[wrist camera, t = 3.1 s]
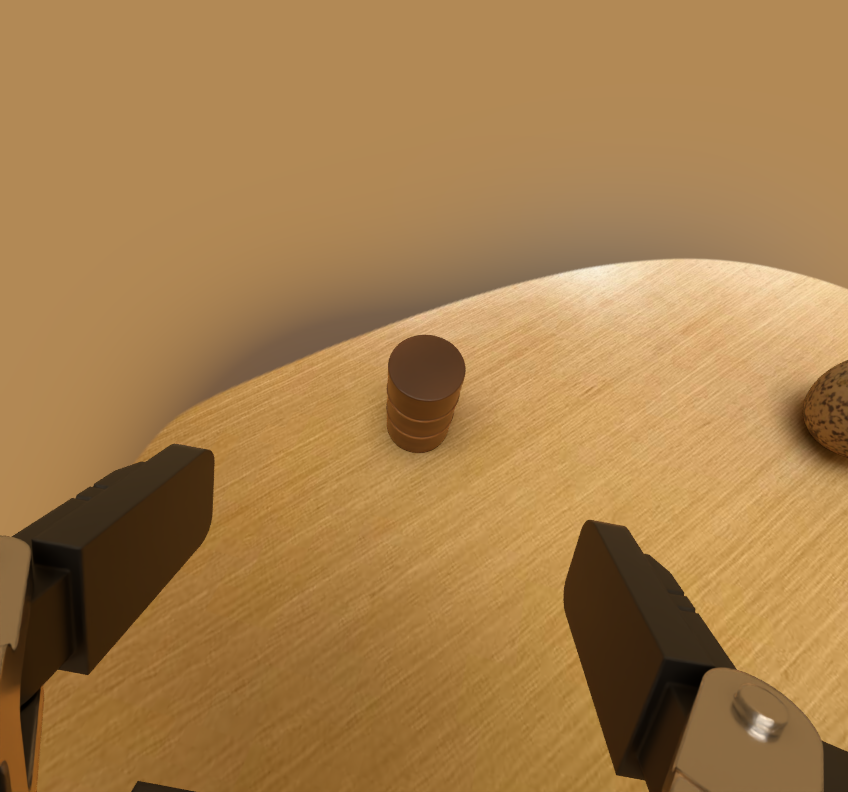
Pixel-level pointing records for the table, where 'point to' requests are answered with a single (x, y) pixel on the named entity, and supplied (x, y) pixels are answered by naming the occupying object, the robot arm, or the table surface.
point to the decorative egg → (829, 409)
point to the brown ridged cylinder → (423, 391)
